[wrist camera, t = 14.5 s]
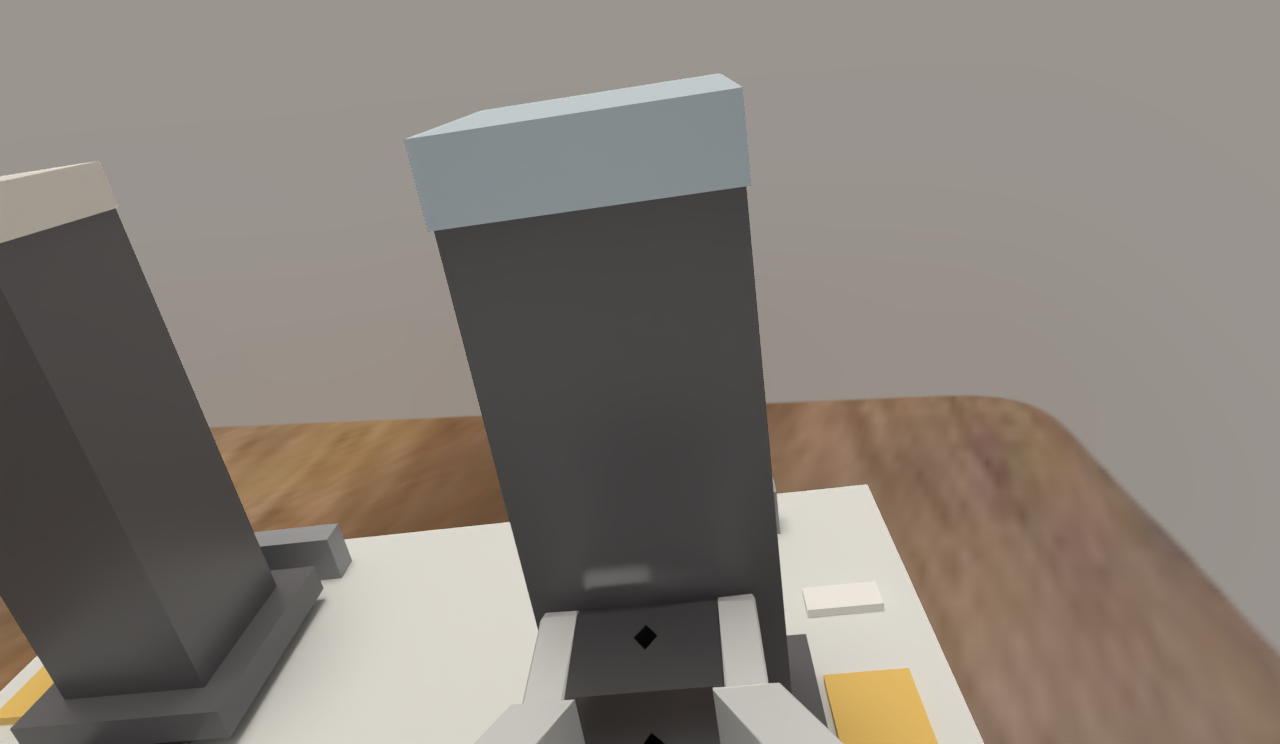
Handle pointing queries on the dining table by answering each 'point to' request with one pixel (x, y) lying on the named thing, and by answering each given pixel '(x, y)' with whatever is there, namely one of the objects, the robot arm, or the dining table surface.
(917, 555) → the dining table surface
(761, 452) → the grey capped post
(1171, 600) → the dining table surface
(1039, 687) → the dining table surface
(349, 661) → the twin pillar base
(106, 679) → the grey post on base
